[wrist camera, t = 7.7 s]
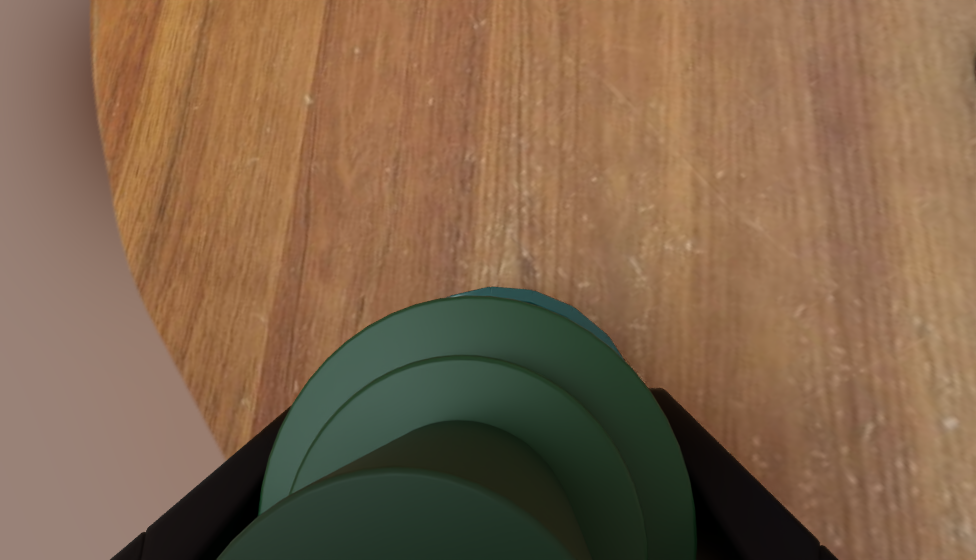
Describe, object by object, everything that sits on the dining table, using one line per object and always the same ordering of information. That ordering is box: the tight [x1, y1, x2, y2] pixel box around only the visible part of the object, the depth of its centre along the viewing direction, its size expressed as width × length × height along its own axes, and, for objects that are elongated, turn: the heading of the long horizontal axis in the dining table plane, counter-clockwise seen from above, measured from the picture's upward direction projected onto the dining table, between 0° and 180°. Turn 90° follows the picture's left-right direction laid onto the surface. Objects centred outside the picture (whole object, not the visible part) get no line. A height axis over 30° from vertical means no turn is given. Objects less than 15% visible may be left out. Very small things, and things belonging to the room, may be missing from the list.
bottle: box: [216, 296, 697, 560], centre depth 9 cm, size 6×6×13 cm
